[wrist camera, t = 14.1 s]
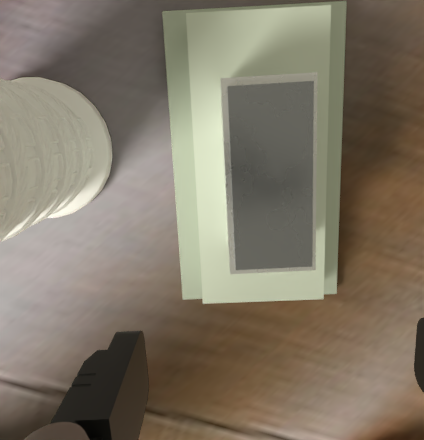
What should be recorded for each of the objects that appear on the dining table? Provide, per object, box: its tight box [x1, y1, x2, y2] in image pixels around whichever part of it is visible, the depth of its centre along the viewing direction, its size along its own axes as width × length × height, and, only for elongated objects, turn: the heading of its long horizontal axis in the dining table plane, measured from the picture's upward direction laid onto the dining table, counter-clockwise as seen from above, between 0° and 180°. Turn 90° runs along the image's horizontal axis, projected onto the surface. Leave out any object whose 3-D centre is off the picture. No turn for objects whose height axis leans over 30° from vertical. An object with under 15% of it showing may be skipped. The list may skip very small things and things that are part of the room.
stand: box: [162, 1, 347, 304], centre depth 31 cm, size 14×24×4 cm, turn 3°
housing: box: [220, 72, 318, 274], centre depth 26 cm, size 12×6×7 cm, turn 3°
